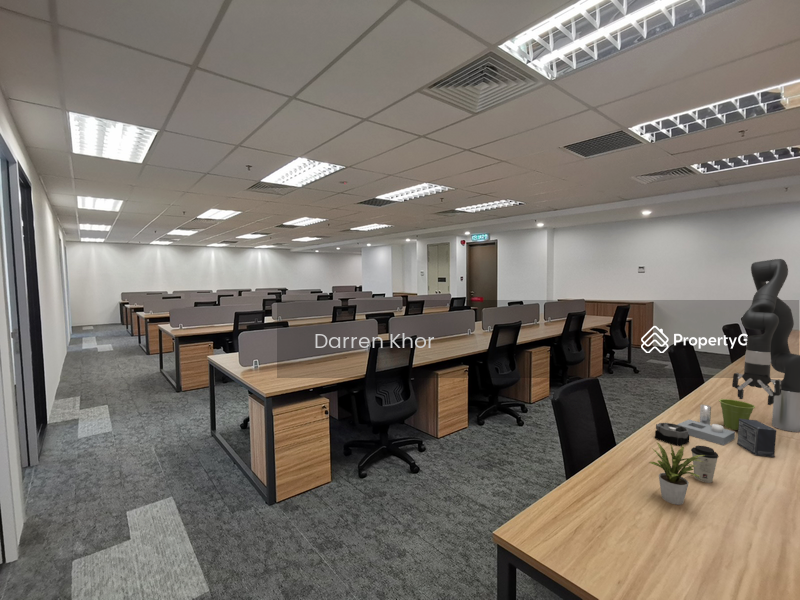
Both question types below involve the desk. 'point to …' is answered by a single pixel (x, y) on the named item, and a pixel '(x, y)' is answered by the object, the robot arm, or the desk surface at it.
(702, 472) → the coffee cup
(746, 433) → the small box
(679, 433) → the cpu cooler
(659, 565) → the desk surface
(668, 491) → the house plant
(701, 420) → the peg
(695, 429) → the peg board
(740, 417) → the plant pot
